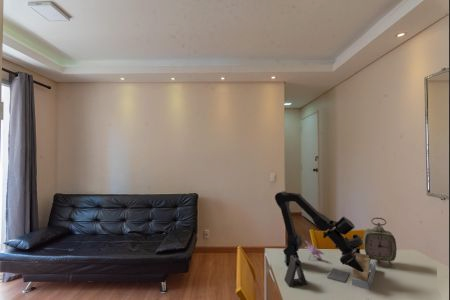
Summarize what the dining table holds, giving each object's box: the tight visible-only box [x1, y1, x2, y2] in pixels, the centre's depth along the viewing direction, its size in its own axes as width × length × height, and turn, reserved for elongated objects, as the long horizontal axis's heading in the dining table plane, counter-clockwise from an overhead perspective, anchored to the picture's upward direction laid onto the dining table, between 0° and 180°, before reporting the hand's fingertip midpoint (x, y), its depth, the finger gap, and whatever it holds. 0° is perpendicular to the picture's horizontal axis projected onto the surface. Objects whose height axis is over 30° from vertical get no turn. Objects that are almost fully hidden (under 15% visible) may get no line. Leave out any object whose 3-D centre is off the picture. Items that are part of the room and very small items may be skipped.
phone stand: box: [284, 255, 309, 288], centre depth 123 cm, size 9×6×12 cm, turn 97°
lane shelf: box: [351, 261, 377, 290], centre depth 127 cm, size 7×22×4 cm, turn 145°
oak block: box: [352, 252, 370, 282], centre depth 123 cm, size 6×6×12 cm
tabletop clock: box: [362, 217, 398, 268], centre depth 142 cm, size 14×9×25 cm, turn 68°
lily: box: [304, 240, 325, 260], centre depth 149 cm, size 12×12×10 cm
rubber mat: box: [326, 268, 350, 283], centre depth 129 cm, size 8×11×1 cm
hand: (364, 268), depth 122 cm, fingers open, 8 cm apart
